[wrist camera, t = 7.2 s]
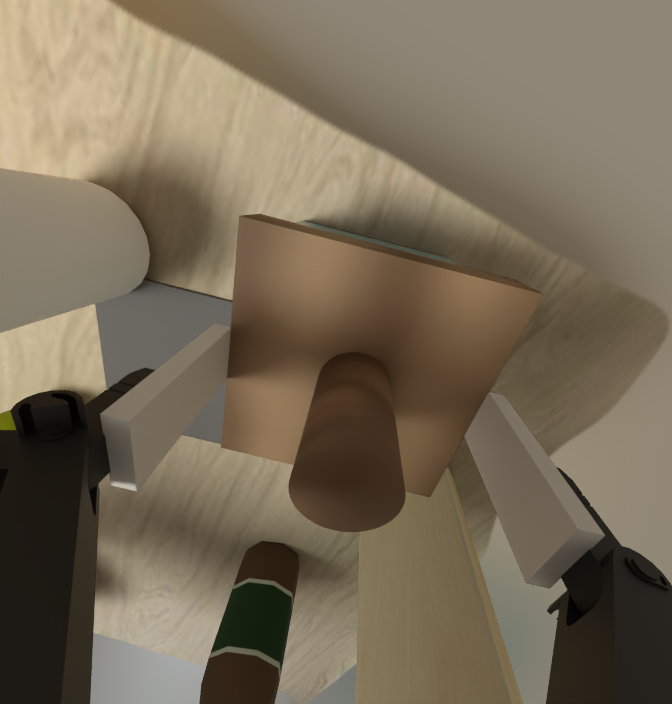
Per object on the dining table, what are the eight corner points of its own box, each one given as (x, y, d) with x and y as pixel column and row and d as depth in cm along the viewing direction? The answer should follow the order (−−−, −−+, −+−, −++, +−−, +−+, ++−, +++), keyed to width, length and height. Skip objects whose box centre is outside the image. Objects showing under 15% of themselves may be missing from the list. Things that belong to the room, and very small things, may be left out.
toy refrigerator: (384, 500, 34) (409, 860, 15) (358, 454, 32) (350, 822, 13) (455, 483, 32) (583, 874, 13) (433, 432, 30) (555, 833, 11)
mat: (112, 416, 32) (110, 417, 32) (93, 266, 25) (90, 267, 25) (260, 450, 32) (259, 452, 32) (281, 313, 25) (280, 314, 25)
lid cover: (238, 418, 19) (152, 562, 11) (260, 214, 14) (125, 226, 6) (422, 463, 19) (459, 633, 12) (515, 279, 14) (696, 371, 6)
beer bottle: (287, 536, 39) (191, 952, 17) (310, 571, 42) (252, 963, 20) (235, 544, 40) (87, 932, 19) (260, 577, 43) (158, 944, 22)
